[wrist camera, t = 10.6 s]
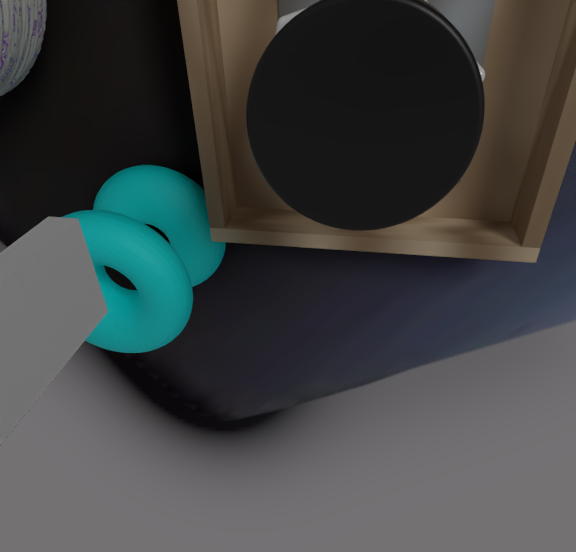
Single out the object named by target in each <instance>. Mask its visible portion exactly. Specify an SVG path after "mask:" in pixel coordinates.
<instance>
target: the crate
mask: <svg viewBox="0 0 576 552" xmlns="http://www.w3.org/2000/svg"><path fill="white" fill-rule="evenodd" d="M310 1H312V0H177V3H178V10H179V17H180V24H181V31H182V38H183V45H184V52H185V59H186V66H187V73H188V79H189V86H190V93H191V100H192V107H193V114H194V121H195V128H196V135H197V142H198V149H199V156H200V162H201V169H202V176H203V183H204V190H205V197H206V204H207V211H208V218H209V225H210V232H211V239H212V241H215V242H230V243H245V244H260V245H275V246H291V247H306V248H321V249H336V250H351V251H366V252H381V253H396V254H411V255H426V256H442V257H457V258H472V259H487V260H502V261H517V262H532V263H536V260H537V257H538V254H539V251H540V248H541V245H542V242H543V239H544V236H545V233H546V230H547V227H548V223H549V220H550V217H551V214H552V211H553V208H554V205H555V202H556V199H557V196H558V193H559V190H560V187H561V184H562V181H563V177H564V174H565V171H566V168H567V165H568V162H569V159H570V156H571V153H572V150H573V147H574V144H575V141H576V0H427V1H428V3H429V4H431V5H432V6H434V7H435V8H436V9H437V10H438V11H440V12H441V13H442V14H443V15H444V16H445V17H446V18H447V19H448V20H449V21H450V22H451V23H452V24H453V25H454V26H455V28H456V29H457V30H458V31H459V32H460V33H461V35H462V36H463V38H464V39H465V40H466V42H467V44H468V45H469V47H470V49H471V51H472V53H473V55H474V57H475V59H476V61H477V62H478V63H479V64H480V66H481V67H482V68H483V69H484V71H485V78H484V81H483V88H484V98H485V112H484V122H483V128H482V133H481V137H480V140H479V144H478V147H477V149H476V152H475V155H474V157H473V159H472V161H471V163H470V165H469V167H468V168H467V170H466V171H465V173H464V175H463V176H462V178H461V179H460V180H459V182H458V183H457V184H456V185H455V187H454V188H453V189H452V190H451V191H450V192H449V193H448V194H447V195H446V196H445V197H444V198H443V199H442V200H441V201H439V202H438V203H437V204H436V205H434V206H433V207H432V208H430V209H429V210H427V211H426V212H424V213H423V214H421V215H419V216H417V217H415V218H413V219H411V220H409V221H406V222H404V223H401V224H398V225H395V226H392V227H387V228H383V229H376V230H365V231H357V230H345V229H339V228H334V227H330V226H327V225H323V224H321V223H318V222H315V221H313V220H311V219H309V218H307V217H305V216H303V215H302V214H300V213H298V212H297V211H295V210H294V209H293V208H291V207H290V206H289V205H287V204H286V203H285V202H284V201H283V200H282V199H281V198H280V197H279V196H278V195H277V194H276V193H275V192H274V191H273V189H272V188H271V187H270V186H269V184H268V183H267V181H266V180H265V178H264V177H263V175H262V174H261V172H260V170H259V168H258V166H257V164H256V161H255V159H254V156H253V153H252V150H251V147H250V143H249V138H248V132H247V122H246V110H247V99H248V93H249V88H250V84H251V80H252V77H253V74H254V71H255V69H256V66H257V64H258V62H259V60H260V58H261V56H262V54H263V52H264V51H265V49H266V48H267V46H268V44H269V43H270V42H271V40H272V39H273V38H274V36H275V32H276V26H277V21H278V20H279V18H280V17H282V16H284V15H286V14H288V13H290V12H291V11H293V10H295V9H297V8H299V7H301V6H303V5H305V4H307V3H308V2H310Z"/></svg>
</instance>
